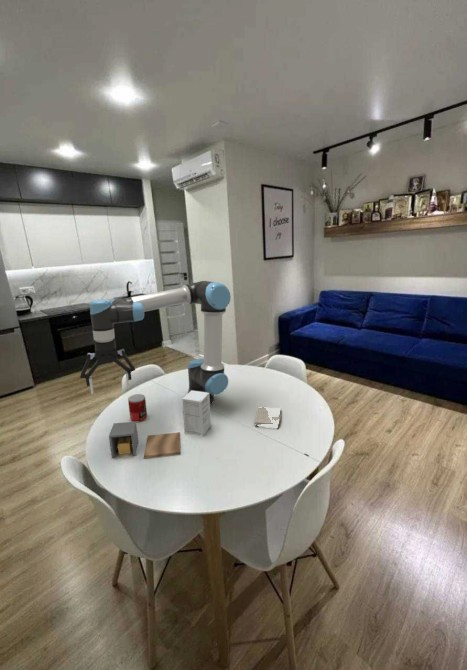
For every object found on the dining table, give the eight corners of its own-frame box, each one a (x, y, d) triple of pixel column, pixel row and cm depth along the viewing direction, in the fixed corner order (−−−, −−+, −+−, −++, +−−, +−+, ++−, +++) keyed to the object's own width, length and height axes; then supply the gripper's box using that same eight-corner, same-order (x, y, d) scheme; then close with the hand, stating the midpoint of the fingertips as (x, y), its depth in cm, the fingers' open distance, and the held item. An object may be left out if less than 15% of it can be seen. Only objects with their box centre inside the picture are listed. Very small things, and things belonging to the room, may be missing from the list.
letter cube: (132, 446, 126) (131, 436, 125) (130, 453, 122) (129, 443, 120) (120, 447, 125) (119, 437, 124) (118, 454, 121) (117, 444, 120)
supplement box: (211, 425, 140) (210, 392, 136) (203, 436, 132) (201, 401, 128) (192, 422, 144) (191, 389, 139) (183, 432, 135) (181, 398, 131)
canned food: (142, 423, 143) (140, 401, 140) (127, 421, 145) (124, 400, 142) (149, 414, 150) (148, 394, 148) (135, 413, 152) (133, 393, 149)
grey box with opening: (138, 442, 128) (136, 421, 126) (135, 455, 120) (133, 433, 117) (116, 444, 127) (113, 423, 124) (111, 458, 118) (108, 435, 116)
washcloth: (253, 428, 139) (253, 422, 138) (257, 409, 156) (257, 403, 155) (279, 430, 137) (279, 424, 136) (281, 411, 154) (281, 405, 153)
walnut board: (180, 434, 134) (180, 432, 133) (180, 454, 120) (179, 451, 120) (147, 437, 131) (147, 435, 131) (143, 458, 118) (143, 456, 118)
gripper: (137, 334, 125) (141, 381, 131) (69, 340, 116) (77, 391, 121) (138, 338, 118) (143, 388, 124) (67, 346, 109) (75, 399, 115)
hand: (110, 390), depth 123 cm, fingers open, 13 cm apart
